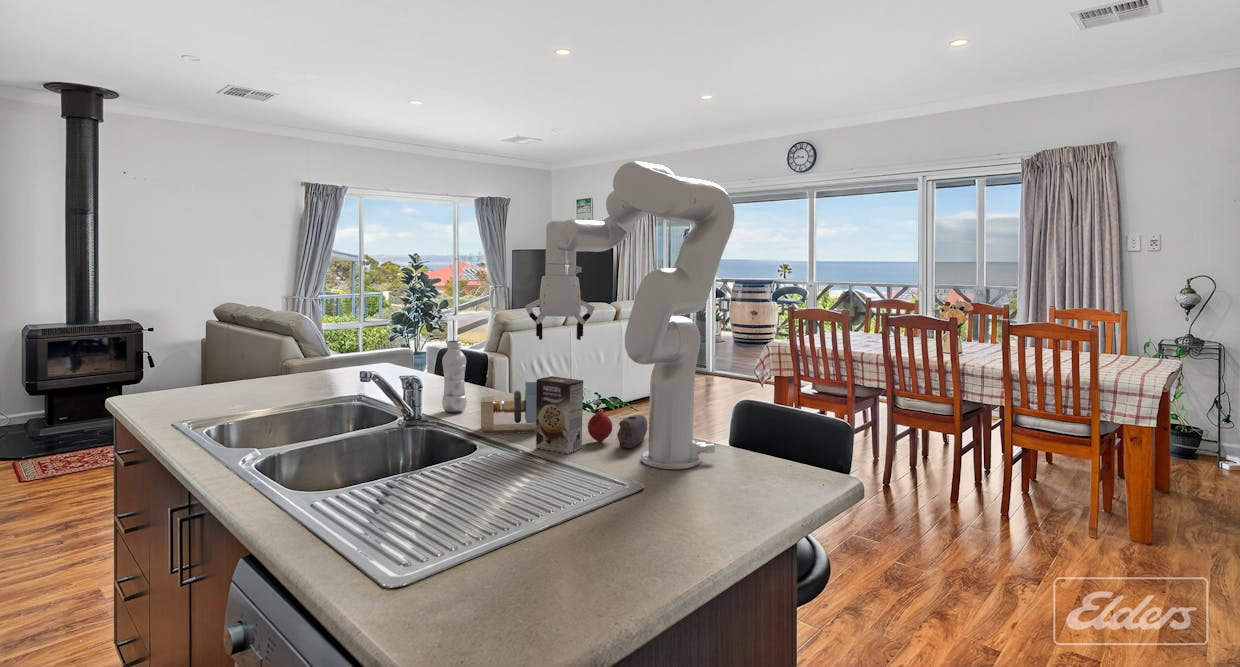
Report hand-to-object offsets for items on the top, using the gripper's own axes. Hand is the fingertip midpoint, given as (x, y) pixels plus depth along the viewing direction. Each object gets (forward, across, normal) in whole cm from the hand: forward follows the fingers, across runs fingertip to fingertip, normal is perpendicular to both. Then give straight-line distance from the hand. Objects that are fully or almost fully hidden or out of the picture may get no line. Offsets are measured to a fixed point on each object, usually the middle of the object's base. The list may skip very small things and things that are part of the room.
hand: (559, 339), depth 170 cm
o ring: (+21, +10, 0) cm, 23 cm away
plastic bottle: (+24, +27, -22) cm, 42 cm away
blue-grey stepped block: (+21, +6, 0) cm, 22 cm away
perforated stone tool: (+23, -17, +16) cm, 33 cm away
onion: (+23, -9, +14) cm, 28 cm away
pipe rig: (+23, +11, 0) cm, 26 cm away
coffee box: (+23, +1, +18) cm, 29 cm away
